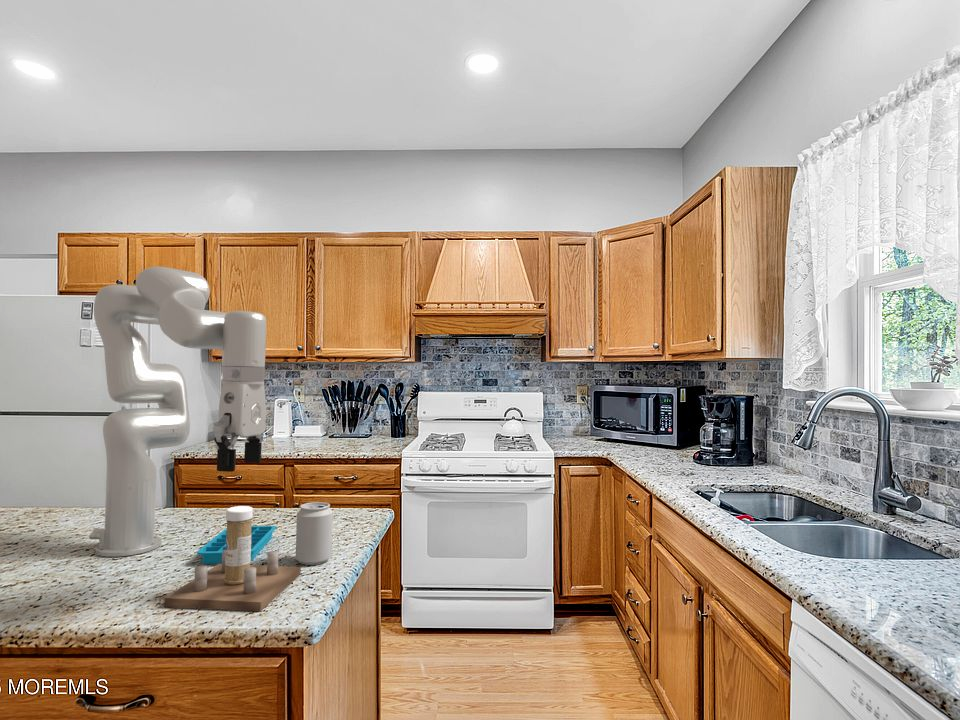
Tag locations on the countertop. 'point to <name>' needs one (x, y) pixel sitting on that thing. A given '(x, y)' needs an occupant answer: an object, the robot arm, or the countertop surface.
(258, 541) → the ice cube tray
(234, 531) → the sprinkles bottle
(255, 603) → the peg board
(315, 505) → the can
